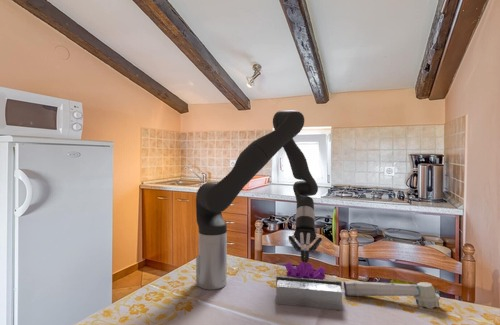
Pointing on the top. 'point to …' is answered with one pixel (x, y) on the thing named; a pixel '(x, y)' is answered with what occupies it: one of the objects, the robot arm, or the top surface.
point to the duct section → (309, 292)
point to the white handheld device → (395, 291)
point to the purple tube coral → (305, 271)
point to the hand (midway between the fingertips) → (304, 262)
